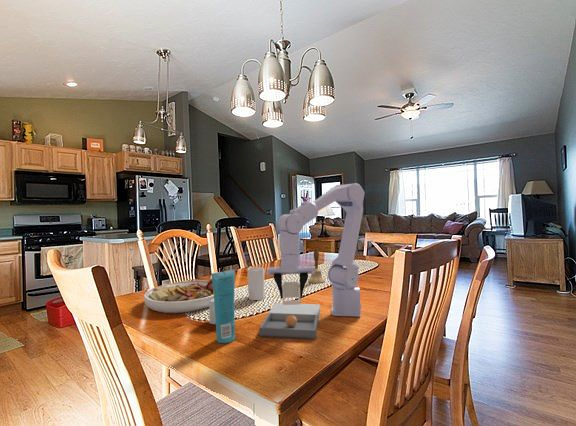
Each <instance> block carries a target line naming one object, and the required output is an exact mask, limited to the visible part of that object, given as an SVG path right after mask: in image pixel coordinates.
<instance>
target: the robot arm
mask: <svg viewBox="0 0 576 426" xmlns="http://www.w3.org/2000/svg"><path fill="white" fill-rule="evenodd" d="M364 198H365V190H364V189H363V187H362V186H361V185H360V184H359V183H357V182H355V183H353V182H352V183H347V184H336V185H335V186H333V187H331V188H330V189H329V190H327V191H326V192H325V193H324V194H322V195H320V196H319V197H318V198H316V199H315V200H314V201H302V202H301V203H300V204H301V205H299V206H298V207H296V208H294V209H291V210H289V213H287V214H286V213H285V214H282V215H281V216H279V218H278V220H277V223H276V228H277V229H278V231H279V237H280V261H281V263H280V264H281V265H280V266H273V267H267V268H266V276H271V275H273V280H274V282H275V284H276V287H277V289H278V292H279V296H280V300H283V275H298V276H299V284H300V299H303V293H304V289H305V286H306V283H307V282H308V280H309V275H310V274H315V265H314V266H313V265H312V266H307V265H305V266H304V265H301V260H300V257H301V256H300V253H301V252H300V232H301V231H302V229H303V227H304V226H305V225H306V224H308V223H310V222H311V221H312V220H314V219H315V218H317V217H318V214H319V211H321V210H322V209H324V208H326V207H328V206H329V205H332V204H333V203H334V202H335V203H336V204H337V205H339V207H341V208H342V209H343V210H344V211H345V213H346V214H345V218H344V219H345V220H344V223H343V228H342V229H343V230H342V234H341V240H340V244H339V249H338V254H337V257H336V258H334V259H333V260H332V262H331V266H330V267H329V269H328V272H327V278H328V280H329V282H330V283H331V284H330V285H331V286H332V288H331V289H332V306H331V316H335V317H337V316H338V317H357V318H359V317H362V315H361V309H362V304H361V289H360V287H359V286H357V284H359V283H358V282H359V278H360V277H359V265H358V264H357V263H356V261H355V257H356V251H357V244H358V239H359V235H360V229H361V225H362V219H363V215H364Z"/></svg>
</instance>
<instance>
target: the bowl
mask: <svg viewBox="0 0 576 426" xmlns="http://www.w3.org/2000/svg"><path fill="white" fill-rule="evenodd" d="M143 299H144V303H145V305H146V306H147V308H149V309H151V310H152V311H156V312H158V313H166V314H181V313H189V312H190V311H191V312H195V310H196V311H200V310H199V309H201V310H204V309H207V308H209V301H211V300H212V299H214V295H213V285H212V278H210V279H208V280H186V281H179V282H178V281H177V282H172V283H167V284H162V285H159V286H156V287H153V288H151V289H149V290H147V291H146V292H145V293H144V295H143ZM203 308H204V309H203Z"/></svg>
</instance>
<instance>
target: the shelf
mask: <svg viewBox="0 0 576 426" xmlns="http://www.w3.org/2000/svg"><path fill="white" fill-rule="evenodd" d="M268 313H271V319H279V320H286V318H287V317H288V316H289V315H294V316H295V317H296V319H297V320H303V321H315V316H316V315H318V323H319V321H320V314H321V304H318V303H317V304H314V303H313V304H312V303H300V304H297V305H283V302H274V303H273V305H272V307H271V308H270V310H269V312H268Z"/></svg>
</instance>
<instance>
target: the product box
mask: <svg viewBox="0 0 576 426" xmlns="http://www.w3.org/2000/svg"><path fill="white" fill-rule="evenodd" d="M208 310H209V312H208V313H209V315H208V317H209V318H208V319H209V320H208V321H209V322H208V323H209V324H211V325H216V318H215V306H214V299H212V300H211V301H209V307H208ZM234 319H235V313H234Z"/></svg>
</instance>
